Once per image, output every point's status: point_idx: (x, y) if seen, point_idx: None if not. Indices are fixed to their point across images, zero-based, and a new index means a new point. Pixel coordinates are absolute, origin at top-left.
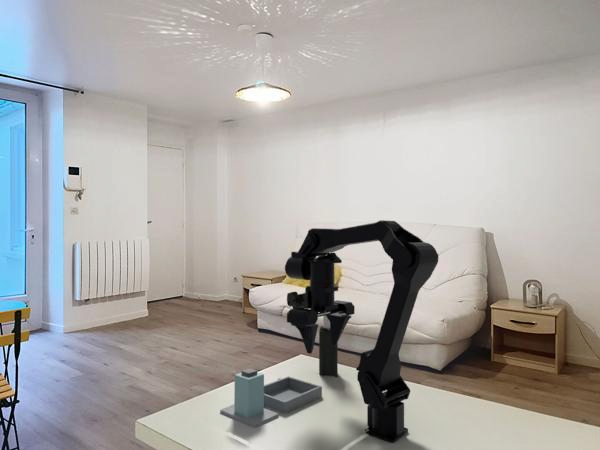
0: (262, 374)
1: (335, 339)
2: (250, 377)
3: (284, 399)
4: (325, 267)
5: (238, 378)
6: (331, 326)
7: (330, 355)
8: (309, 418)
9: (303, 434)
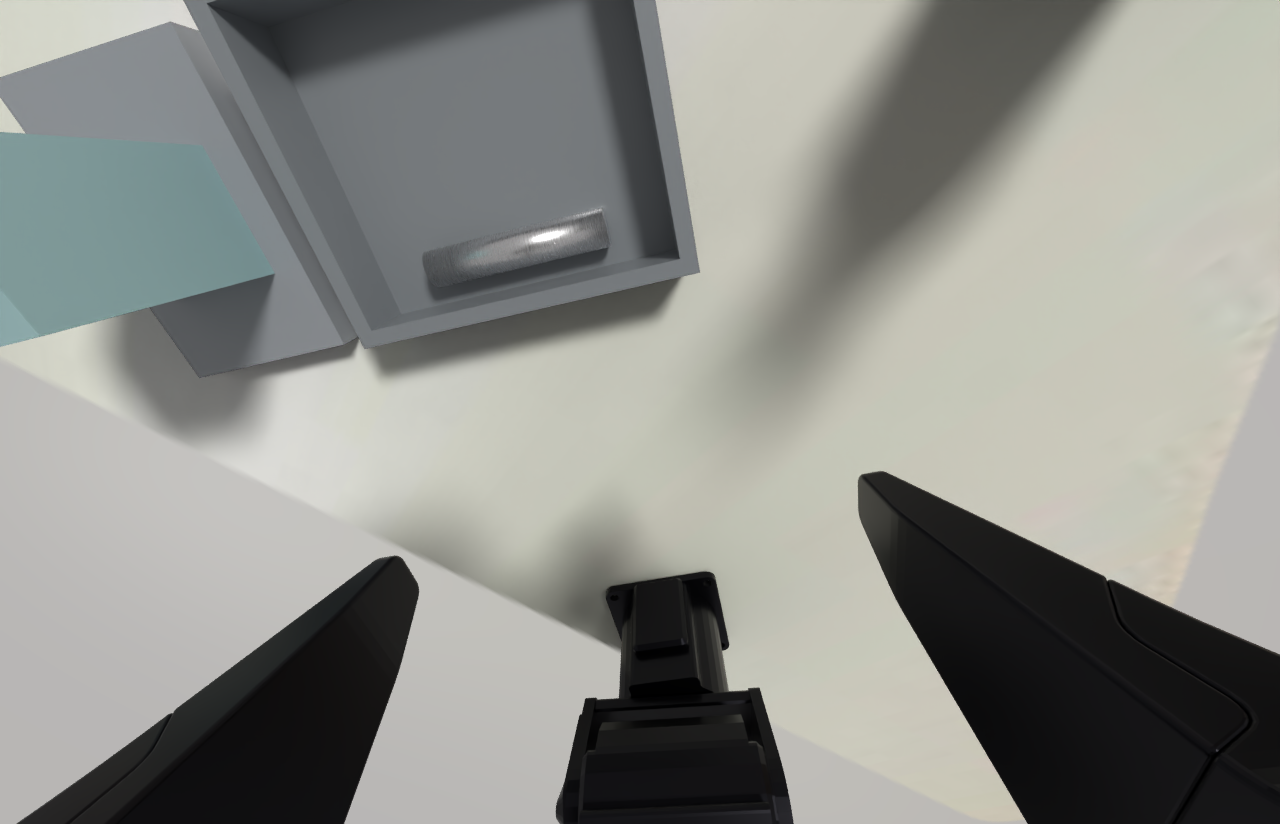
0: (24, 335)
1: (895, 583)
2: None
3: (468, 155)
4: None
5: None
6: (1101, 701)
7: None
8: (498, 406)
9: (410, 492)
